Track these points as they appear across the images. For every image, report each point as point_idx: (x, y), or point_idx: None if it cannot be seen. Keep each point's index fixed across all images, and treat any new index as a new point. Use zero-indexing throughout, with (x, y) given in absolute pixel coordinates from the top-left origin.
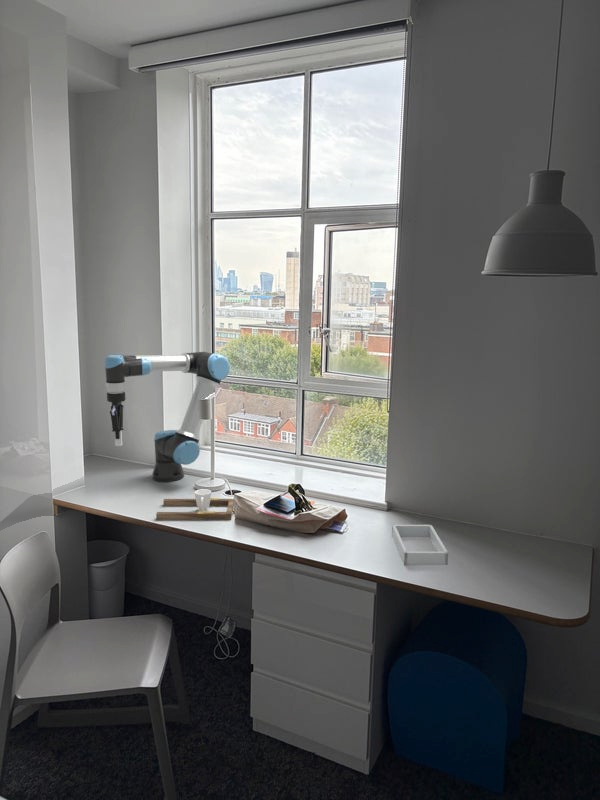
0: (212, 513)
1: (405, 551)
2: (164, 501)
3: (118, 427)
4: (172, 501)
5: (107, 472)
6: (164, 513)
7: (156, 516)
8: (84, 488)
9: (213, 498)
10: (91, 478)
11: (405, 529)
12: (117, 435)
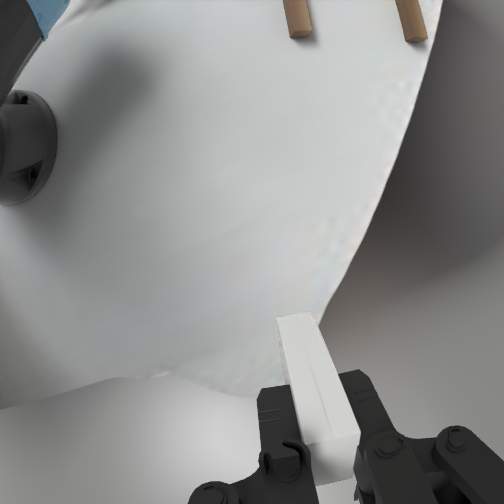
0: None
1: None
2: (310, 27)
3: (484, 464)
4: (305, 2)
5: (44, 353)
6: (420, 15)
7: (423, 40)
8: (182, 368)
9: None
10: (100, 378)
11: None
12: (377, 409)
